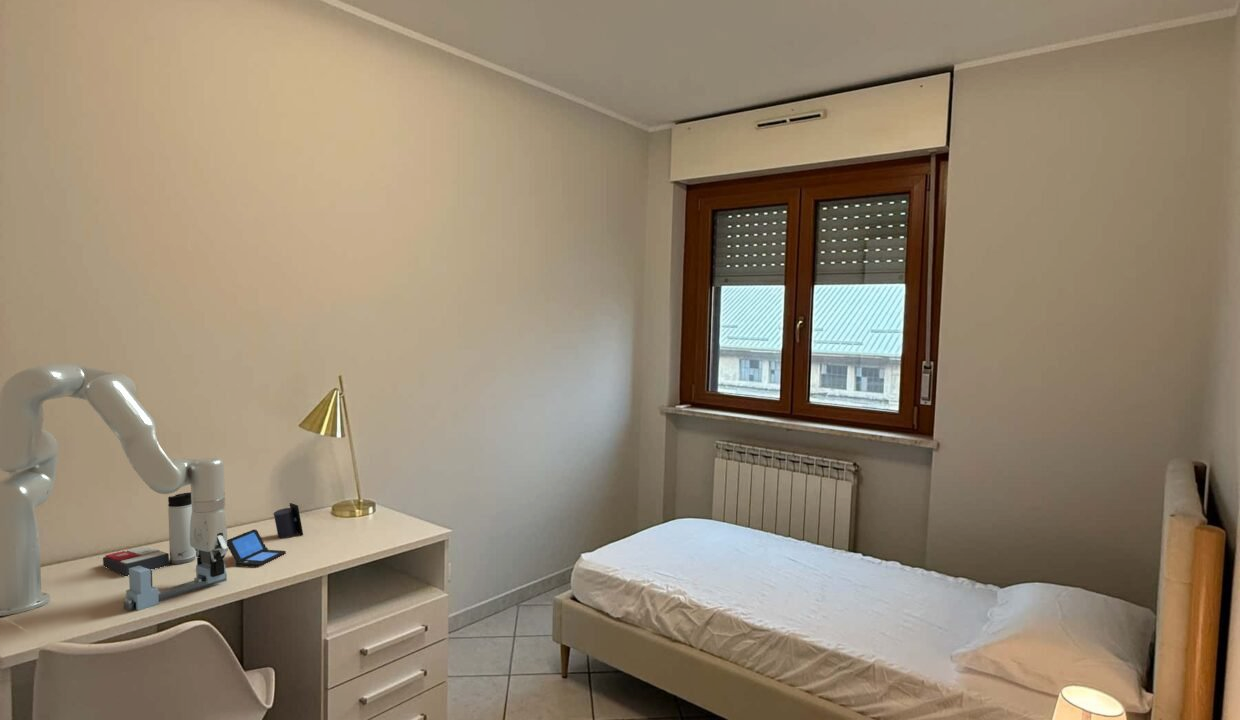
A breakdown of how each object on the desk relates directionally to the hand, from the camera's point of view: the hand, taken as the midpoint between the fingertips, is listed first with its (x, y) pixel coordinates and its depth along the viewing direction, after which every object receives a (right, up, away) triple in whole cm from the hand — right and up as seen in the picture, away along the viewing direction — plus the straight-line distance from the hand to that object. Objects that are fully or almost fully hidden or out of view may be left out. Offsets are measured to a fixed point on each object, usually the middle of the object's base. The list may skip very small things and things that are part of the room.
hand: (210, 572), depth 178 cm
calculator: (-30, -3, +15) cm, 34 cm away
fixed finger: (-8, -4, -14) cm, 16 cm away
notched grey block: (0, -2, 0) cm, 2 cm away
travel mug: (-19, -3, +19) cm, 27 cm away
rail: (-4, -4, -7) cm, 9 cm away
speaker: (-1, -2, +42) cm, 42 cm away
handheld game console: (+1, -3, +20) cm, 20 cm away
